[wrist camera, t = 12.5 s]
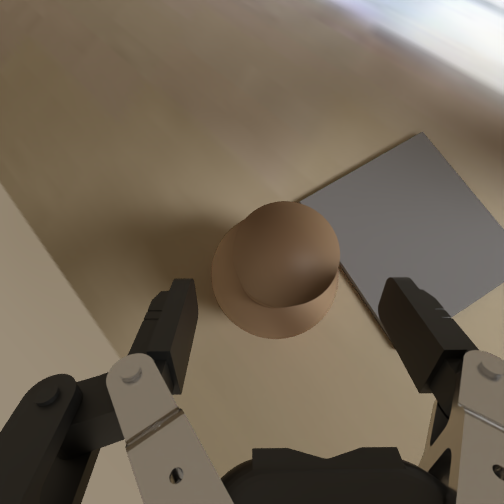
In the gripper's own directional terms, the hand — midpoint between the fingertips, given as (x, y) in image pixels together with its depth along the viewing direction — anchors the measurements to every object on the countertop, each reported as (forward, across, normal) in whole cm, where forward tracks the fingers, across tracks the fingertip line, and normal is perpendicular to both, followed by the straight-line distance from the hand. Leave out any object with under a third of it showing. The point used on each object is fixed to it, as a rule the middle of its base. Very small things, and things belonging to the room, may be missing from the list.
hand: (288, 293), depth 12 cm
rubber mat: (+14, -14, +5) cm, 21 cm away
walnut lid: (+8, 0, +5) cm, 9 cm away
